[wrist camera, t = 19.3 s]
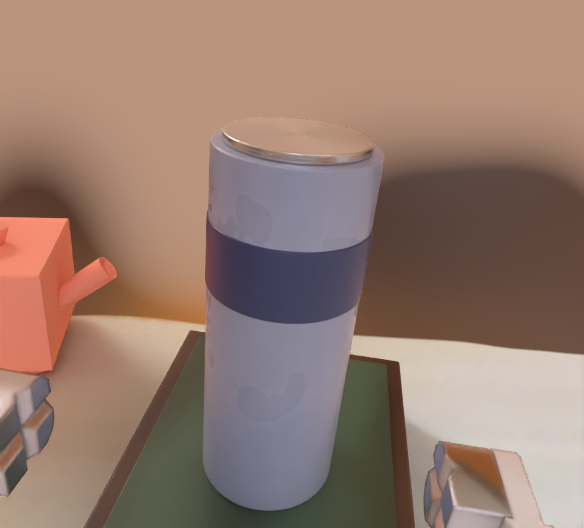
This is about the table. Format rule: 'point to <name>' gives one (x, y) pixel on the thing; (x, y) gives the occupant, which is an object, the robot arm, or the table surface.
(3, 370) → the robot arm
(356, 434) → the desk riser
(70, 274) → the pink cube teapot
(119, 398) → the table surface
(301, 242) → the slim drink can
